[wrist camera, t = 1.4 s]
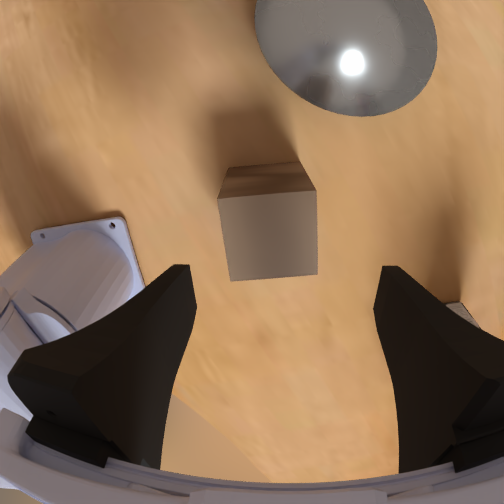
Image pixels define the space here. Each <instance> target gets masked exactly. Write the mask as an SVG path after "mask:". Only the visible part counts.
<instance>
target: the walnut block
mask: <svg viewBox="0 0 504 504" xmlns="http://www.w3.org/2000/svg"><path fill="white" fill-rule="evenodd" d="M217 201H218V207H219V214H220V220H221V226H222V233H223V239H224V245H225V251H226V257H227V263H228V269H229V275H230V281H244V280H257V279H270V278H283V277H295V276H306V275H317V274H318V247H317V195H316V189H315V187H314V185H313V184H312V182H311V180H310V178H309V176H308V175H307V173H306V171H305V169H304V168H303V166H302V164H301V162H289V163H276V164H264V165H253V166H243V167H233V168H229V169H228V171H227V174H226V177H225V179H224V182H223V185H222V187H221V190H220V193H219V196H218V198H217Z"/></svg>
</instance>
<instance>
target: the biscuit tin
mask: <svg viewBox="0 0 504 504" xmlns="http://www.w3.org/2000/svg"><path fill="white" fill-rule="evenodd" d="M255 30H256V35H257V40H258V43H259V46H260V49H261V51H262V53H263V55H264V57H265V59H266V61H267V63H268V64H269V66H270V67H271V69H272V70H273V72H274V73H275V74H276V75H277V76H278V78H279V79H280V80H281V81H282V82H283V83H284V84H285V85H286V86H287V87H288V88H289V89H291V90H292V91H293V92H294V93H296V94H297V95H298V96H300V97H301V98H303V99H304V100H306V101H308V102H310V103H311V104H313V105H316V106H318V107H320V108H322V109H325V110H328V111H331V112H335V113H338V114H343V115H348V116H361V117H363V116H376V115H381V114H385V113H388V112H391V111H395V110H397V109H399V108H401V107H403V106H404V105H406V104H407V103H409V102H410V101H412V100H413V99H414V98H415V97H416V96H417V95H418V94H419V93H420V92H421V91H422V90H423V88H424V87H425V86H426V84H427V82H428V81H429V79H430V77H431V75H432V72H433V69H434V66H435V62H436V57H437V36H436V31H435V26H434V23H433V20H432V17H431V14H430V12H429V10H428V8H427V6H426V4H425V2H424V1H423V0H257V3H256V8H255Z"/></svg>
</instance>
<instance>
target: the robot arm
mask: <svg viewBox="0 0 504 504" xmlns="http://www.w3.org/2000/svg"><path fill="white" fill-rule="evenodd" d="M111 222H112V223H114V224H115V227H113V226H112V225H111ZM43 234H44V235H45V236H44V235H43ZM31 239H32V242H33V245H32V246H31V247H30V248H29V249H28V250H27V251H25V252H24V253H23V254H22V255H21V256H20V257H19V258H18V259H17V260H16V261H15V262H14V263H13V264H12V265H11V266H9V267H8V268H7V269H6V270H5V271H4V272H3V273H2V274H1V275H0V488H10V489H19V490H20V491H22V492H24V493H25V494H27V495H29V496H31V497H32V498H34V499H36V500H38V501H40V502H42V503H43V504H504V341H503V340H501V339H499V338H497V337H495V336H493V335H491V334H489V333H487V332H485V331H483V330H482V329H480V328H478V327H476V326H475V325H473V324H471V323H470V322H468V321H467V320H465V319H464V318H462V317H461V316H459V315H458V314H456V313H455V312H454V311H452V310H451V309H450V308H448V307H447V306H446V305H445V304H443V303H442V302H441V301H439V300H438V299H437V298H436V297H434V296H433V295H432V294H431V293H430V292H428V291H427V290H426V289H425V288H424V287H423V286H421V285H420V284H419V283H418V282H417V281H416V280H414V279H413V278H412V277H411V276H410V275H409V274H407V273H406V272H405V271H404V270H402V269H401V268H400V267H398V266H382V271H381V276H380V280H379V285H378V290H377V294H376V299H375V303H374V307H373V310H374V316H375V322H376V327H377V332H378V335H379V339H380V342H381V345H382V348H383V352H384V355H385V358H386V362H387V365H388V368H389V372H390V375H391V379H392V383H393V388H394V395H395V402H396V411H397V421H398V435H399V474H395V475H388V476H382V477H375V478H367V479H359V480H349V481H337V482H321V483H260V482H259V483H258V482H243V481H231V480H221V479H212V478H204V477H197V476H191V475H184V474H179V473H173V472H168V471H162V470H160V465H161V455H162V454H161V453H162V445H163V438H164V431H165V424H166V418H167V413H168V408H169V402H170V398H171V393H172V389H173V384H174V381H175V377H176V374H177V371H178V368H179V366H180V363H181V360H182V357H183V354H184V352H185V349H186V346H187V343H188V340H189V338H190V335H191V332H192V329H193V324H194V320H195V315H196V310H197V304H196V299H195V293H194V288H193V282H192V277H191V271H190V265H183V264H174V265H173V266H171V267H170V268H169V269H167V270H166V271H165V272H164V273H162V274H161V275H160V276H159V277H157V278H156V279H155V280H154V281H153V282H151V283H150V284H149V285H148V286H146V287H145V285H144V281H143V278H142V275H141V272H140V269H139V266H138V263H137V259H136V256H135V253H134V249H133V246H132V242H131V239H130V235H129V232H128V228H127V225H126V221H125V220H124V219H123V218H122V217H112V218H105V219H99V220H92V221H86V222H80V223H73V224H67V225H62V226H56V227H50V228H44V229H39V230H34V231H33V232H32V233H31Z"/></svg>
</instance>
